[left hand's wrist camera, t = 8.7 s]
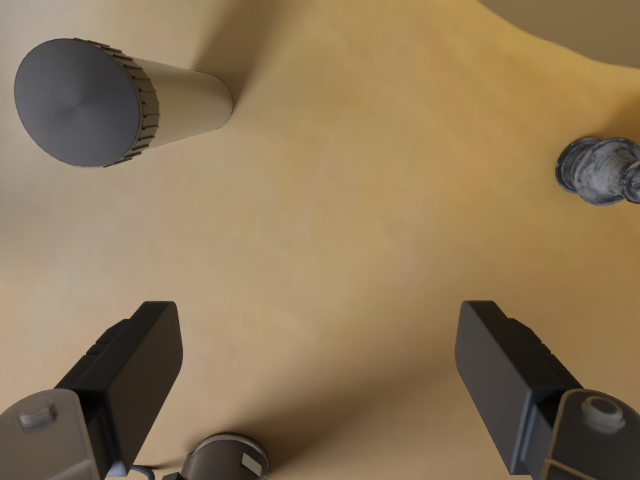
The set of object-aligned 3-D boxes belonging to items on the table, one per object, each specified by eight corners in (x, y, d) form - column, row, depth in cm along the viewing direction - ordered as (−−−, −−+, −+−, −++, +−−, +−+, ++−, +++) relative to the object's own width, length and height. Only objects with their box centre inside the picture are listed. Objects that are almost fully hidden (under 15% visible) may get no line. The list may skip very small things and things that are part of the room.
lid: (147, 177, 20) (126, 187, 18) (39, 138, 19) (4, 143, 17) (173, 71, 18) (154, 67, 16) (56, 24, 17) (20, 13, 15)
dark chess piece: (567, 127, 36) (681, 141, 25) (626, 141, 37) (765, 160, 25) (542, 190, 38) (637, 228, 27) (599, 202, 39) (716, 244, 27)
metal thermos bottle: (224, 137, 36) (127, 178, 18) (173, 118, 36) (18, 139, 17) (239, 86, 35) (151, 71, 16) (187, 65, 34) (33, 24, 16)
